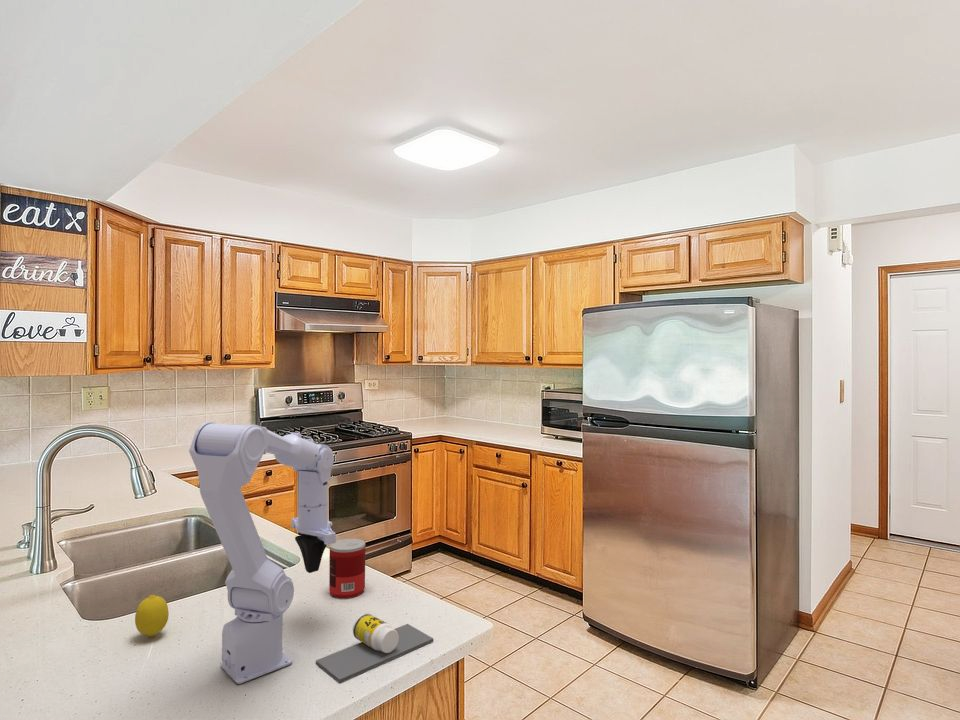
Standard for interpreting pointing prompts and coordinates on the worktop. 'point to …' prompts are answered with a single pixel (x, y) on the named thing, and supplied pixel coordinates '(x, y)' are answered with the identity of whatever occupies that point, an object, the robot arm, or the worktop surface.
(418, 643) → the mat
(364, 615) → the supplement bottle
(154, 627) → the lemon
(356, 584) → the canned food
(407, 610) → the worktop surface
